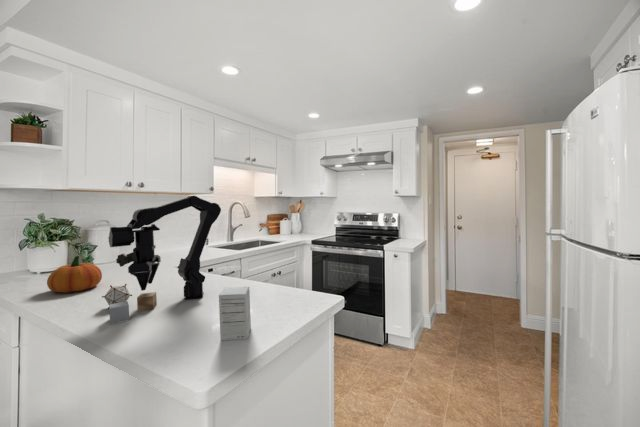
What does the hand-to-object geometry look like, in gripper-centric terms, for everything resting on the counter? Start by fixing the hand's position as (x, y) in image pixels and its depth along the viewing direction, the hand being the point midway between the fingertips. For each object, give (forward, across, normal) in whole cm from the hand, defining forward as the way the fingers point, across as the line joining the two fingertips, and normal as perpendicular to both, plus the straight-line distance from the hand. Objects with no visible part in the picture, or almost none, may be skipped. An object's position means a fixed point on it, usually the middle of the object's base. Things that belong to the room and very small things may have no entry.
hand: (146, 286), depth 106 cm
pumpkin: (+8, -41, -38) cm, 56 cm away
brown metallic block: (+8, 0, 0) cm, 8 cm away
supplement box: (+8, +34, +30) cm, 46 cm away
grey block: (+8, +9, -6) cm, 13 cm away
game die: (+8, -6, -11) cm, 15 cm away
